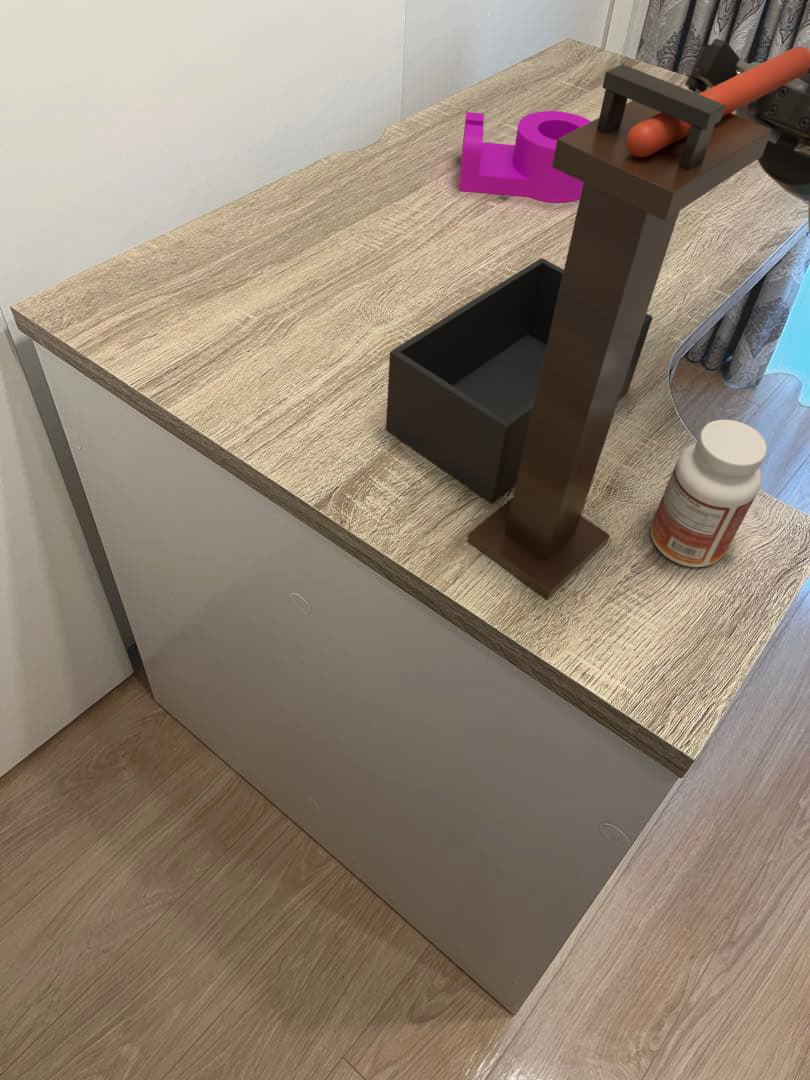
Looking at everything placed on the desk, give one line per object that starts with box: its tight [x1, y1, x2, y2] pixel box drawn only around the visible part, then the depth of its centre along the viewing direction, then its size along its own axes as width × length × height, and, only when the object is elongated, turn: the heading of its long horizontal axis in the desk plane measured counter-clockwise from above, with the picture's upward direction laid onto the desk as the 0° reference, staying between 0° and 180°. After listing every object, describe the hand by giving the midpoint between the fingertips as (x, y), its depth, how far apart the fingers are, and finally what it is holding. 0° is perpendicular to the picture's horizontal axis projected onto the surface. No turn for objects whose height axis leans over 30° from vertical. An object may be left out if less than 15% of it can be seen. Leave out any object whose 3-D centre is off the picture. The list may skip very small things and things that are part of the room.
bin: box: [385, 257, 654, 504], centre depth 75 cm, size 20×12×9 cm, turn 137°
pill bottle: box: [650, 419, 768, 568], centre depth 65 cm, size 6×6×11 cm
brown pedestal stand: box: [467, 63, 772, 600], centre depth 56 cm, size 11×8×35 cm
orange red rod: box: [626, 46, 810, 158], centre depth 46 cm, size 17×2×2 cm
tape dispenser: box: [458, 110, 593, 204], centre depth 103 cm, size 16×10×6 cm, turn 86°
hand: (773, 80), depth 51 cm, fingers open, 8 cm apart
